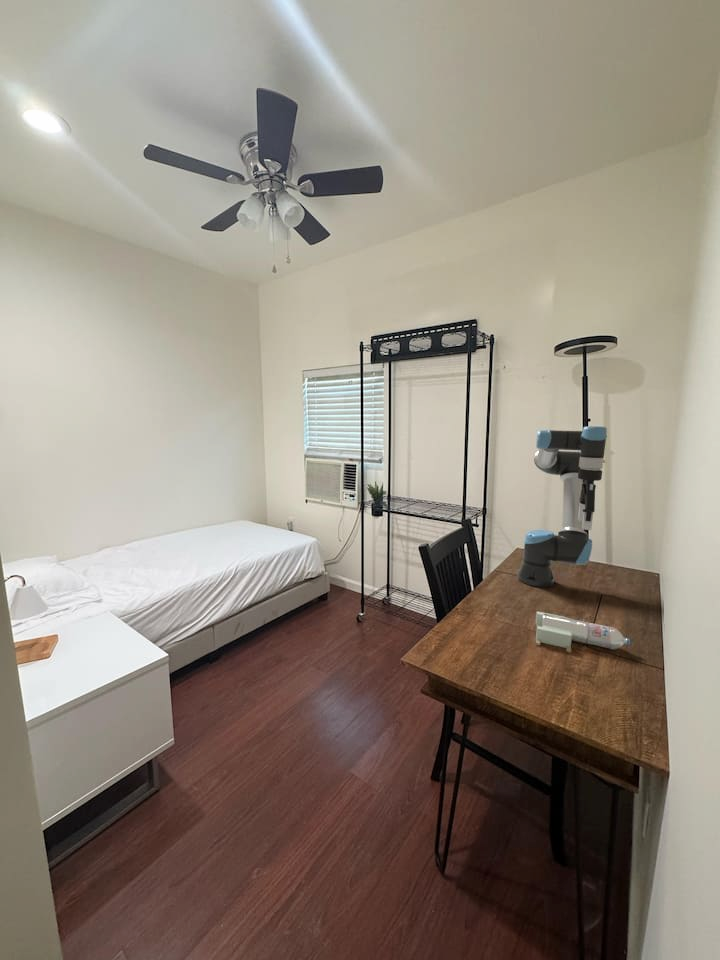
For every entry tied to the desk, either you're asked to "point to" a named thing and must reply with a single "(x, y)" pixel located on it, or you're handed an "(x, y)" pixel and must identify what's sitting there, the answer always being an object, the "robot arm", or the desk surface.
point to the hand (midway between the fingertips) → (584, 524)
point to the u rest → (552, 634)
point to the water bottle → (586, 631)
